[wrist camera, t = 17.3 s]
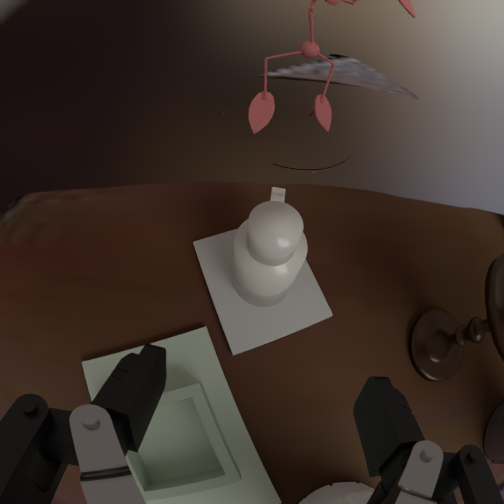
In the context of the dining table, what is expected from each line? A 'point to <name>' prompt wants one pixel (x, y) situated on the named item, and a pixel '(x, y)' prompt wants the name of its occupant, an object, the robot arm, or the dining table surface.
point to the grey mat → (249, 316)
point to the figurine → (264, 101)
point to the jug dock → (192, 431)
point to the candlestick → (457, 331)
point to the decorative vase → (340, 494)
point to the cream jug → (269, 251)
